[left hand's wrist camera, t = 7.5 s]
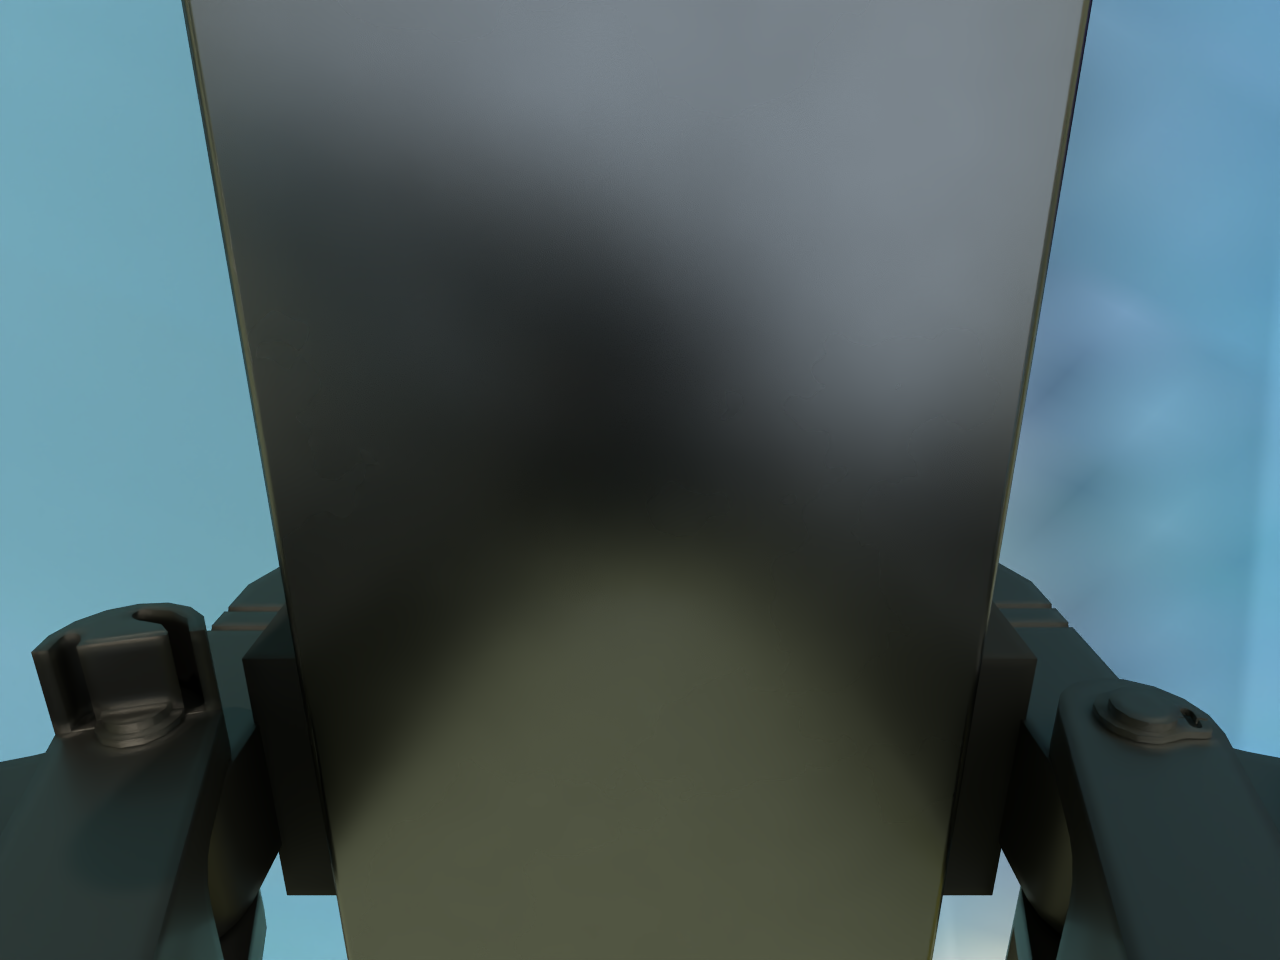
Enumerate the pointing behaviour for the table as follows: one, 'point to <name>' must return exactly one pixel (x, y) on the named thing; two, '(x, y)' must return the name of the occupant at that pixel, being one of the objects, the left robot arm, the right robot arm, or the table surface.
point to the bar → (638, 445)
